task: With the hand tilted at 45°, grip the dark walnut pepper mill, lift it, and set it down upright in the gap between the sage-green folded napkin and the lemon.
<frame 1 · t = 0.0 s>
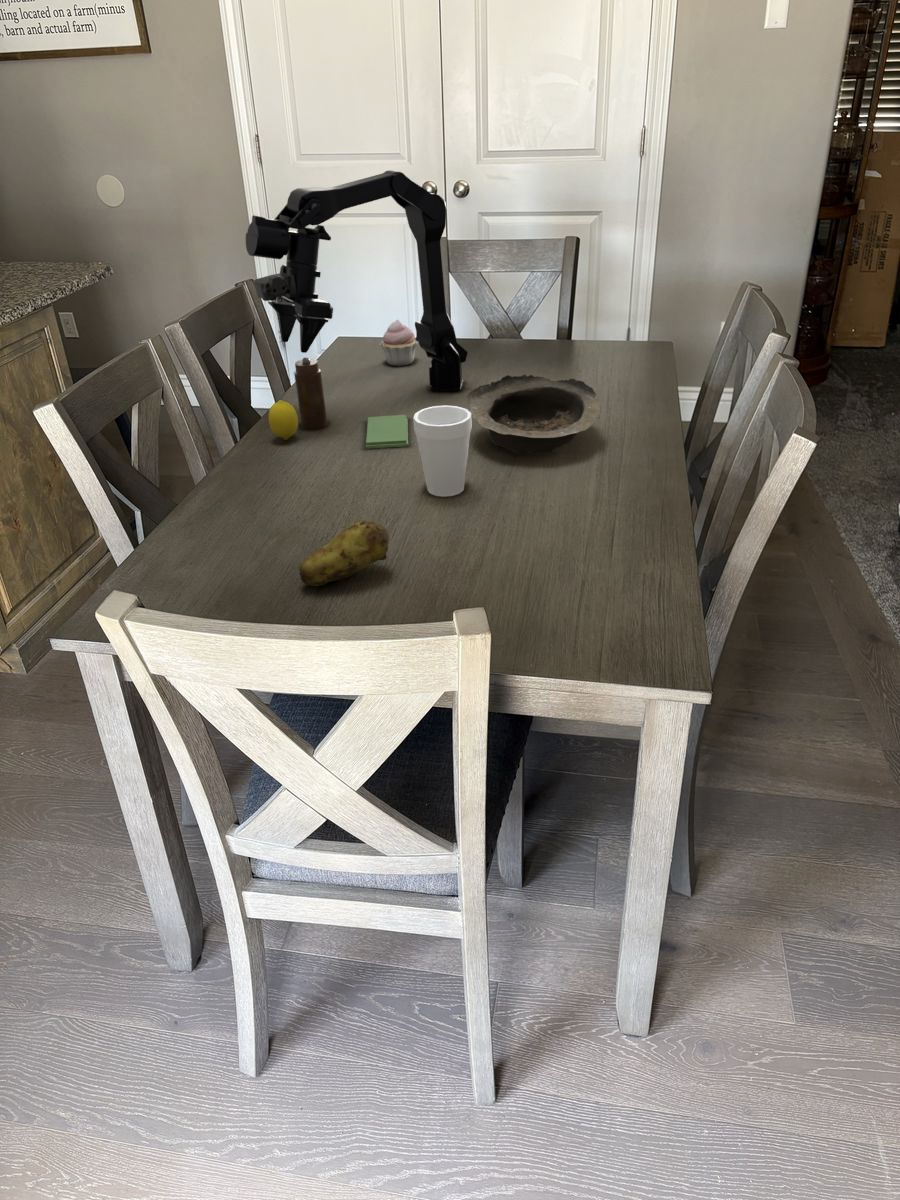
hand: (293, 347, 169), 15 cm above the table, tool pointing down, fingers open, 9 cm apart
stone bowl: (535, 441, 164), on the table
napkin: (387, 433, 170), on the table
lemon: (286, 440, 169), on the table
potato: (347, 578, 124), on the table
pepper mill: (314, 424, 175), on the table
foam cup: (445, 489, 148), on the table
cupcake: (400, 362, 209), on the table
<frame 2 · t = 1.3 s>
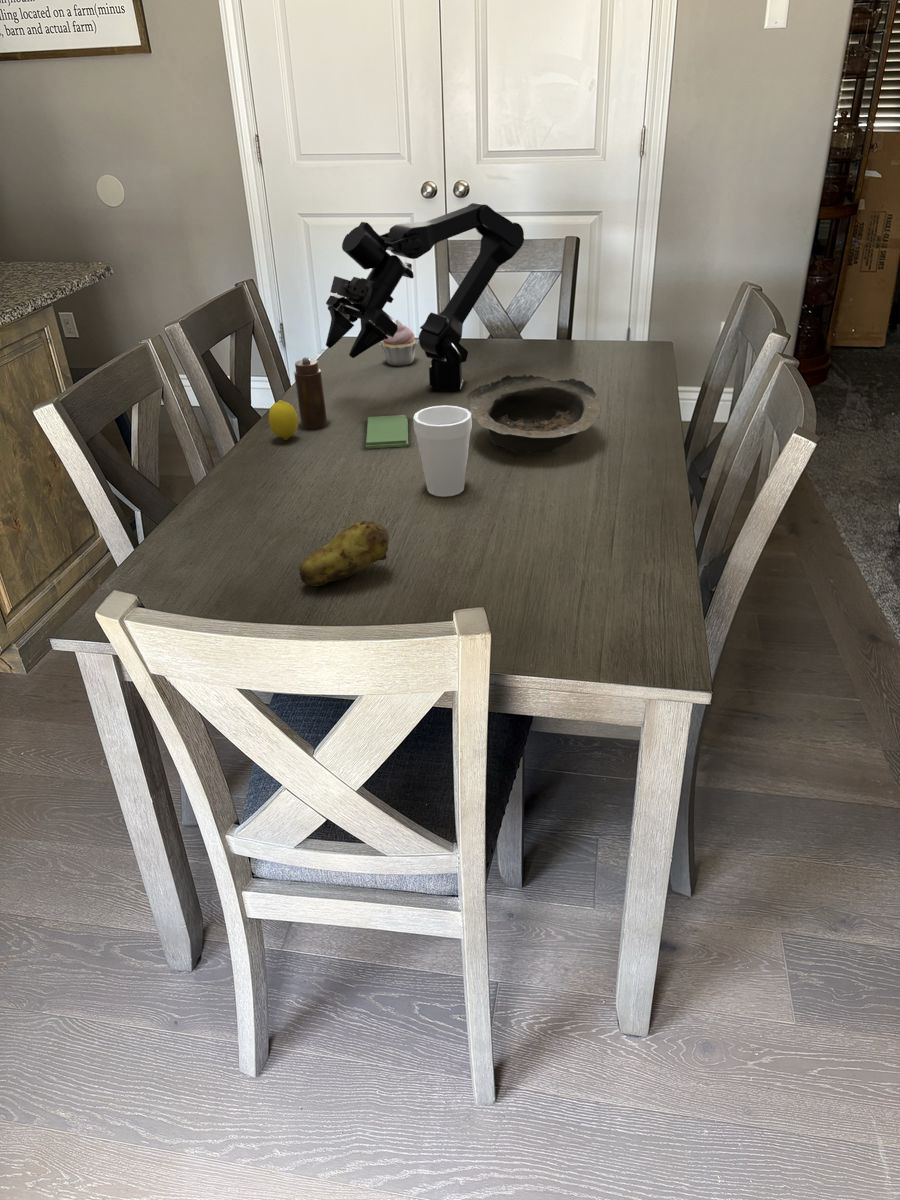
hand: (339, 351, 172), 13 cm above the table, tool tilted 45°, fingers open, 9 cm apart
nothing on the table moved.
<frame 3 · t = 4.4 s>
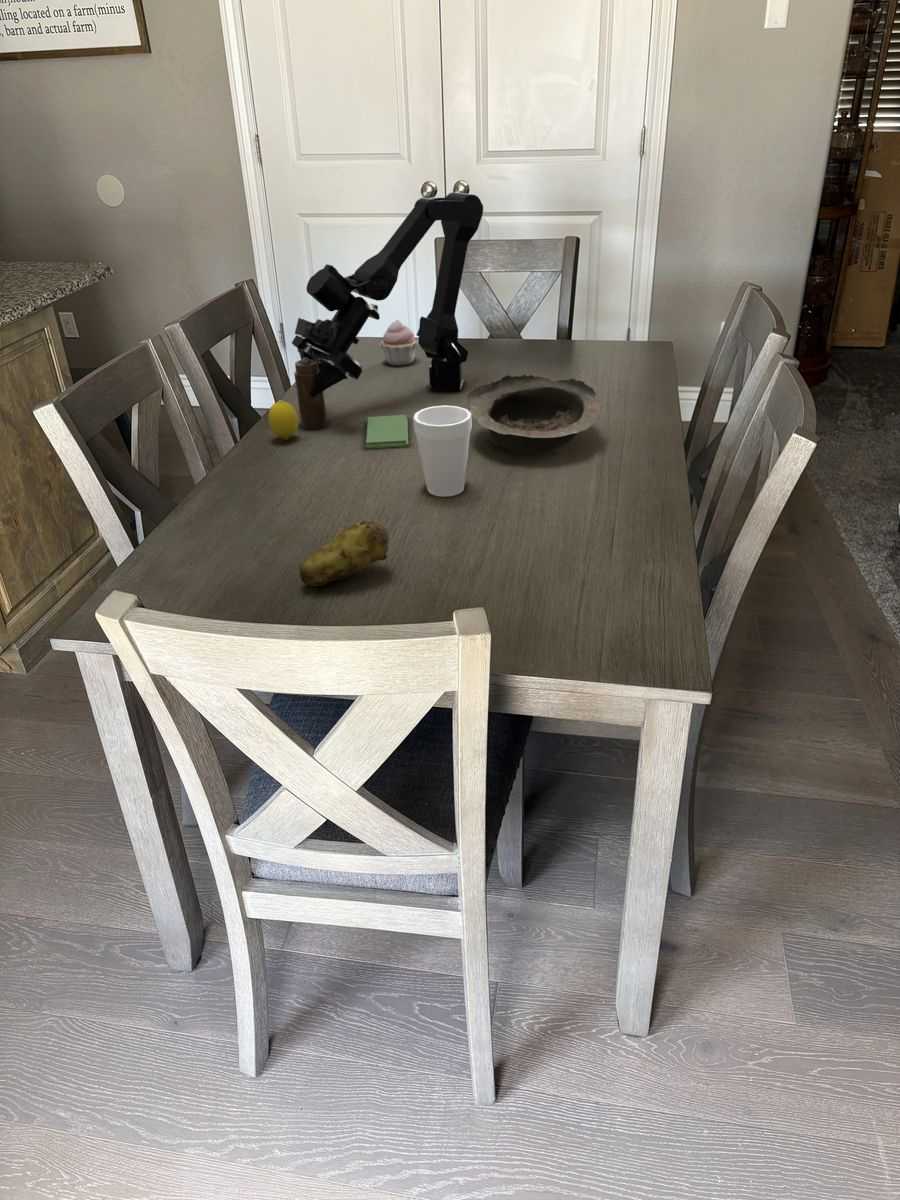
hand: (303, 392, 171), 7 cm above the table, tool tilted 45°, fingers closed on pepper mill, 5 cm apart
pepper mill: (314, 424, 175), on the table, touching gripper
everything else where it was.
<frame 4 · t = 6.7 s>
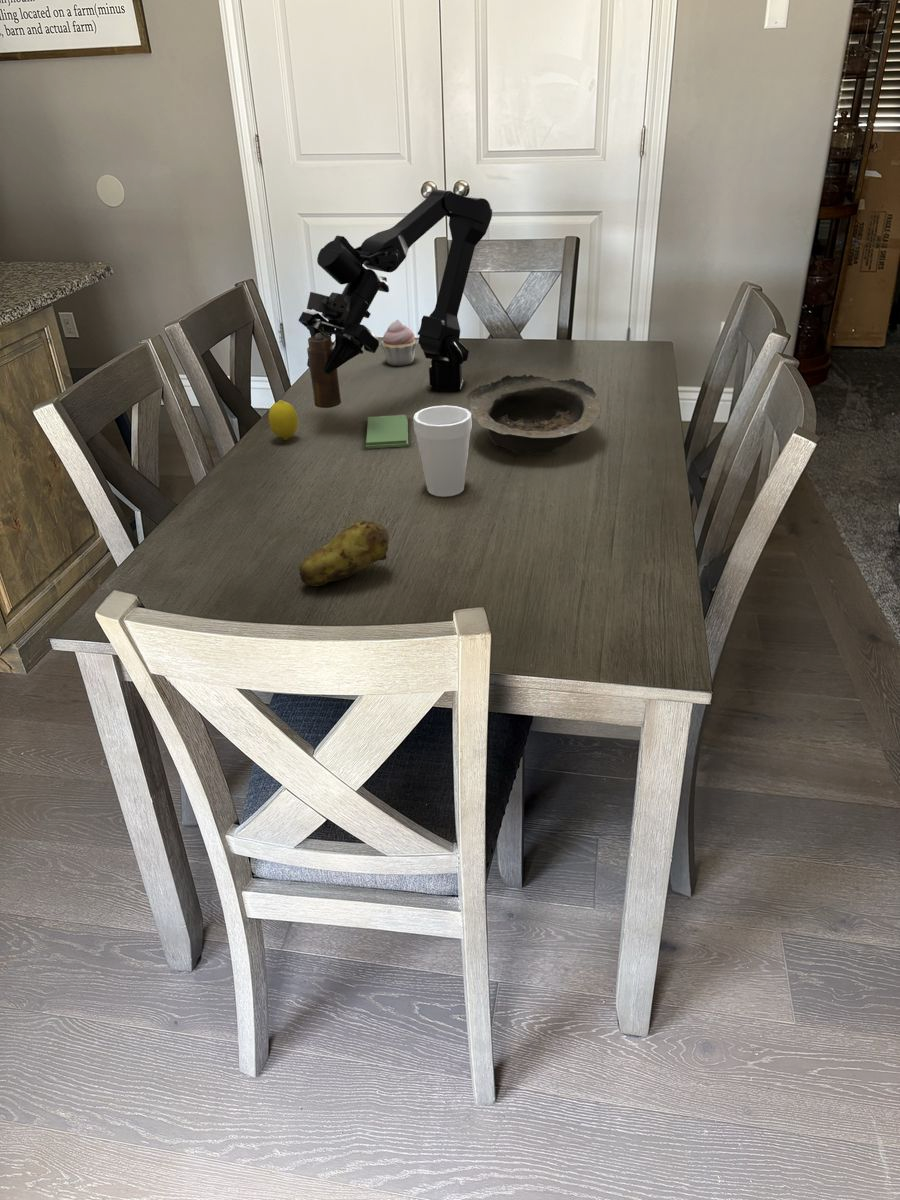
hand: (317, 369, 166), 12 cm above the table, tool tilted 45°, fingers closed on pepper mill, 5 cm apart
pepper mill: (327, 403, 171), point 5 cm above the table, touching gripper
everything else where it was.
when the fingers open (7 cm above the table, at t = 9.5 s): pepper mill stays where it is, on the table.
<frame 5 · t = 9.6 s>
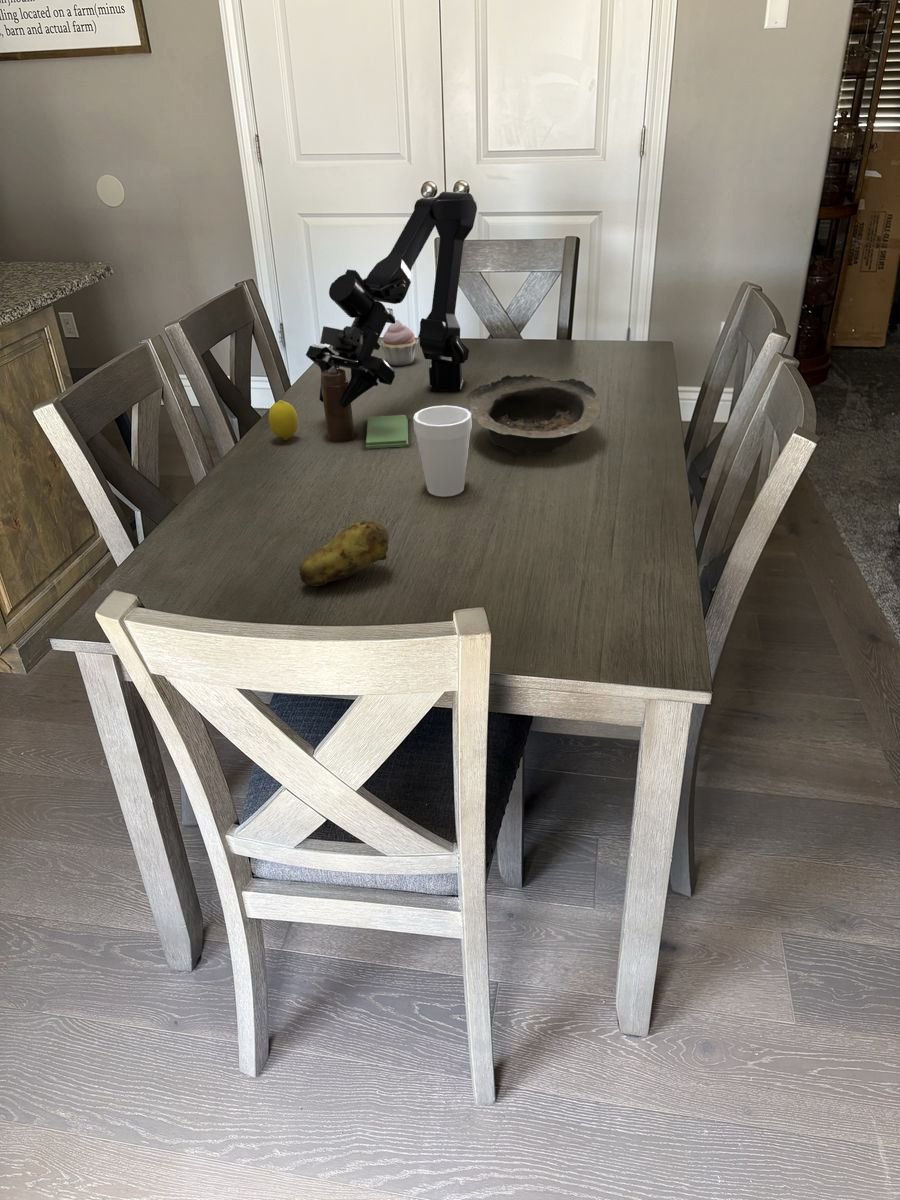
hand: (331, 403, 165), 7 cm above the table, tool tilted 45°, fingers open, 5 cm apart
pepper mill: (341, 436, 170), on the table
everything else where it was.
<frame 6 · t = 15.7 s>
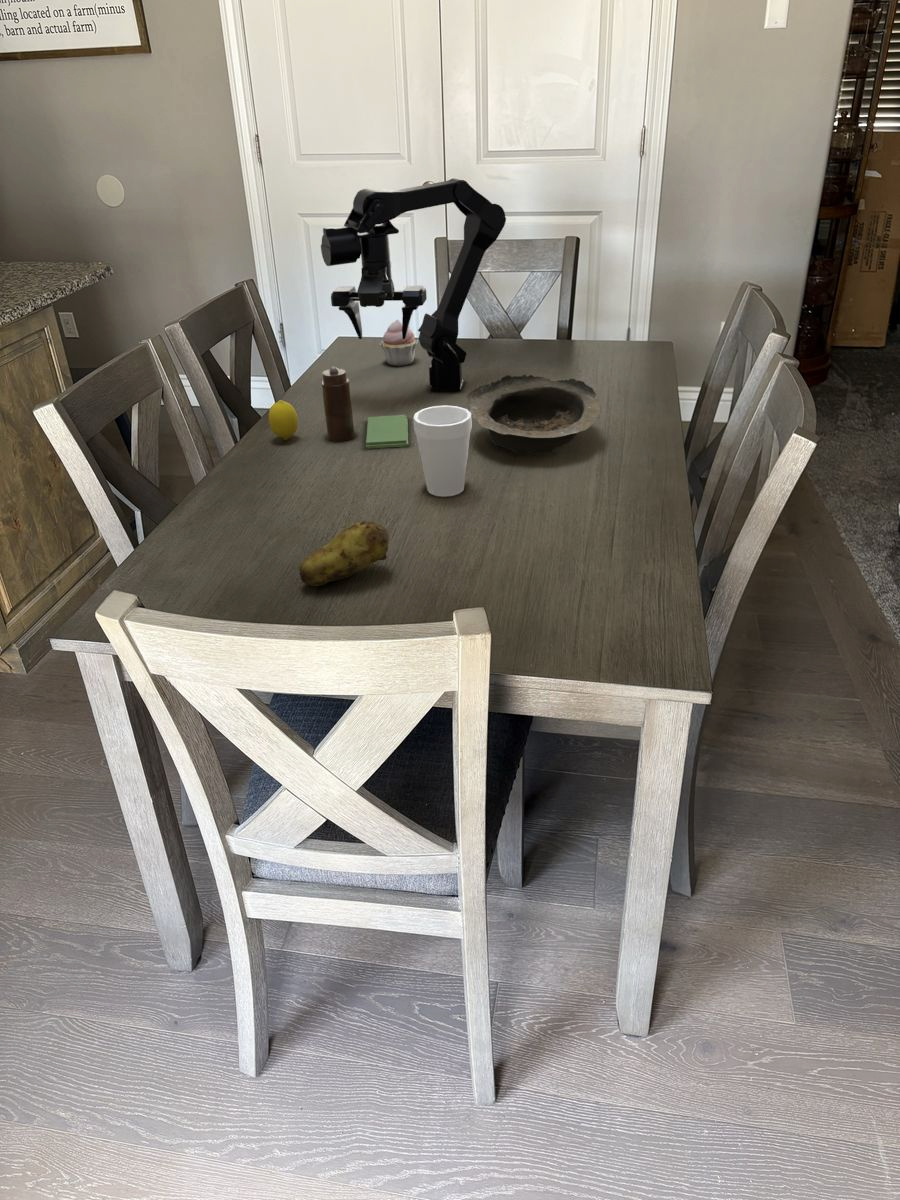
hand: (382, 338, 180), 13 cm above the table, tool pointing down, fingers open, 9 cm apart
nothing on the table moved.
at the end: pepper mill 0.1 cm from the target spot, on the table; pepper mill tilted 0°; lemon moved 0.2 cm from its start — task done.
